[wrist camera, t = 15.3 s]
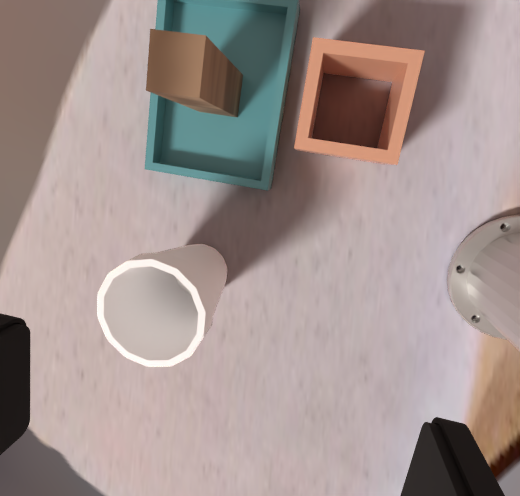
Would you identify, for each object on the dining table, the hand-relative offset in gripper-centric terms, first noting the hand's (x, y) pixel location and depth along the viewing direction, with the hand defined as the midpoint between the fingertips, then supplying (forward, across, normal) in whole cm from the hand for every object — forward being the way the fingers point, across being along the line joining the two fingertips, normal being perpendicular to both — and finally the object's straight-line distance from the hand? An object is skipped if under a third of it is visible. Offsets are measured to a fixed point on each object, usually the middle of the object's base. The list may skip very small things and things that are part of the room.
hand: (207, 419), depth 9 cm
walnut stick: (+32, +10, -11) cm, 35 cm away
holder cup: (+32, -3, -11) cm, 34 cm away
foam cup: (+32, +10, +8) cm, 35 cm away
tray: (+32, +10, -11) cm, 36 cm away
